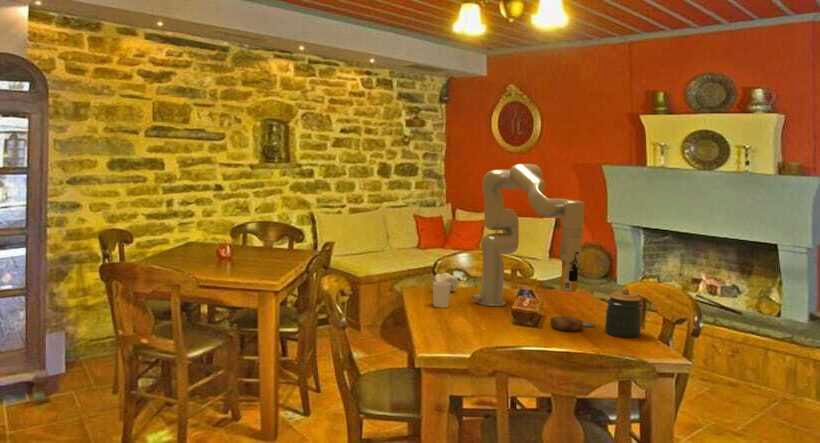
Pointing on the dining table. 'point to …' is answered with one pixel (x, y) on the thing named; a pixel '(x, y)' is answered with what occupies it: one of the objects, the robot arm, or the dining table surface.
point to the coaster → (588, 324)
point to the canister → (623, 314)
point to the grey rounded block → (447, 280)
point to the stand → (566, 323)
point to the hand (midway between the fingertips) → (569, 278)
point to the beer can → (567, 278)
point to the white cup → (441, 294)
